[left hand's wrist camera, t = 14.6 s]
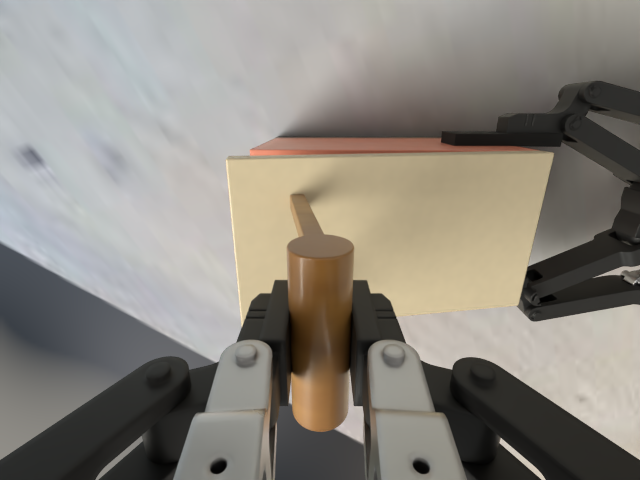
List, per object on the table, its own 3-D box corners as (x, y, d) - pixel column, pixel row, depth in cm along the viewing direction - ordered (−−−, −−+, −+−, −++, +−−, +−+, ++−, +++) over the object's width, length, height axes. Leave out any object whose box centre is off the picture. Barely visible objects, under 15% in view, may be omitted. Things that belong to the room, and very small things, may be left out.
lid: (243, 319, 19) (227, 482, 11) (227, 155, 16) (188, 202, 8) (506, 296, 22) (663, 414, 13) (539, 150, 18) (773, 181, 10)
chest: (281, 237, 32) (259, 293, 22) (277, 137, 29) (249, 149, 19) (451, 238, 32) (508, 296, 22) (466, 137, 28) (540, 150, 18)
